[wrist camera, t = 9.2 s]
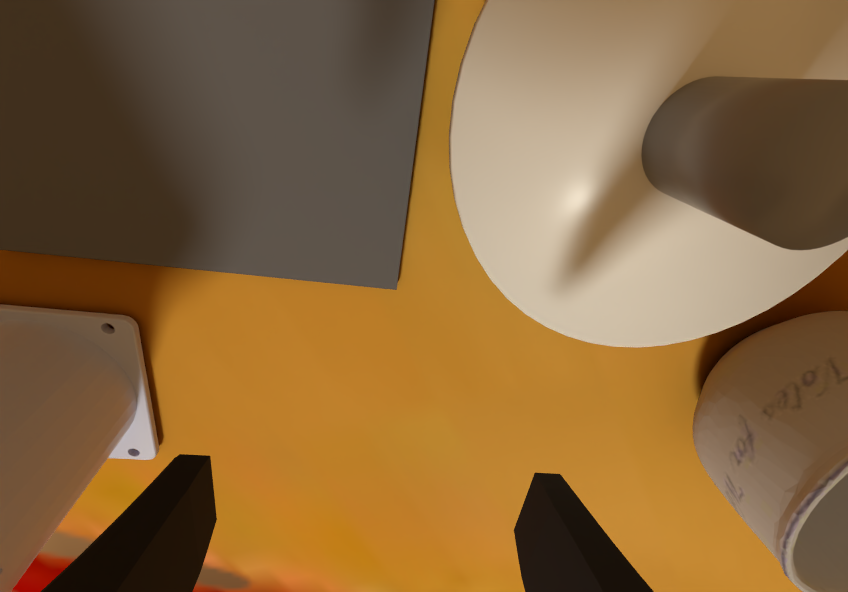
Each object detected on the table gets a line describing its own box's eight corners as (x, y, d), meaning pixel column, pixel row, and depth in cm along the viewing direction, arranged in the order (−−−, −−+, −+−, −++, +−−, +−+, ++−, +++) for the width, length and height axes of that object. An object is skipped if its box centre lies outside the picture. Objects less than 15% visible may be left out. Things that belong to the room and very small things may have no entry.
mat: (3, 245, 17) (-5, 248, 16) (-186, -373, 10) (-206, -389, 10) (396, 285, 19) (396, 289, 18) (461, -213, 12) (463, -221, 11)
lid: (417, 318, 14) (427, 419, 10) (513, -273, 8) (628, -598, 4) (775, 352, 16) (909, 452, 12) (1066, -122, 10) (1537, -253, 6)
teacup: (707, 275, 19) (888, 396, 12) (927, 283, 20) (1214, 399, 13) (621, 491, 26) (708, 652, 19) (792, 489, 27) (937, 642, 20)
